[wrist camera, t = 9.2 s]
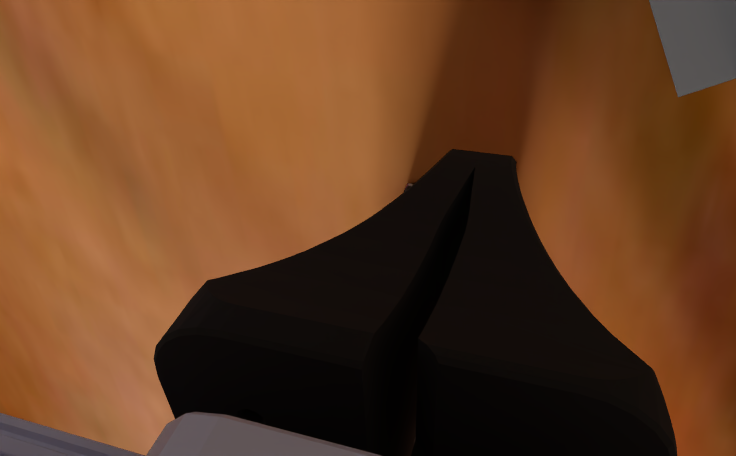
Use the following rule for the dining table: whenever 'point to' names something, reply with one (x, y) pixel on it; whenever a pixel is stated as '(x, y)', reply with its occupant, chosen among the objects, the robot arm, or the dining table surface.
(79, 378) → the dining table surface
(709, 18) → the board
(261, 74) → the dining table surface
